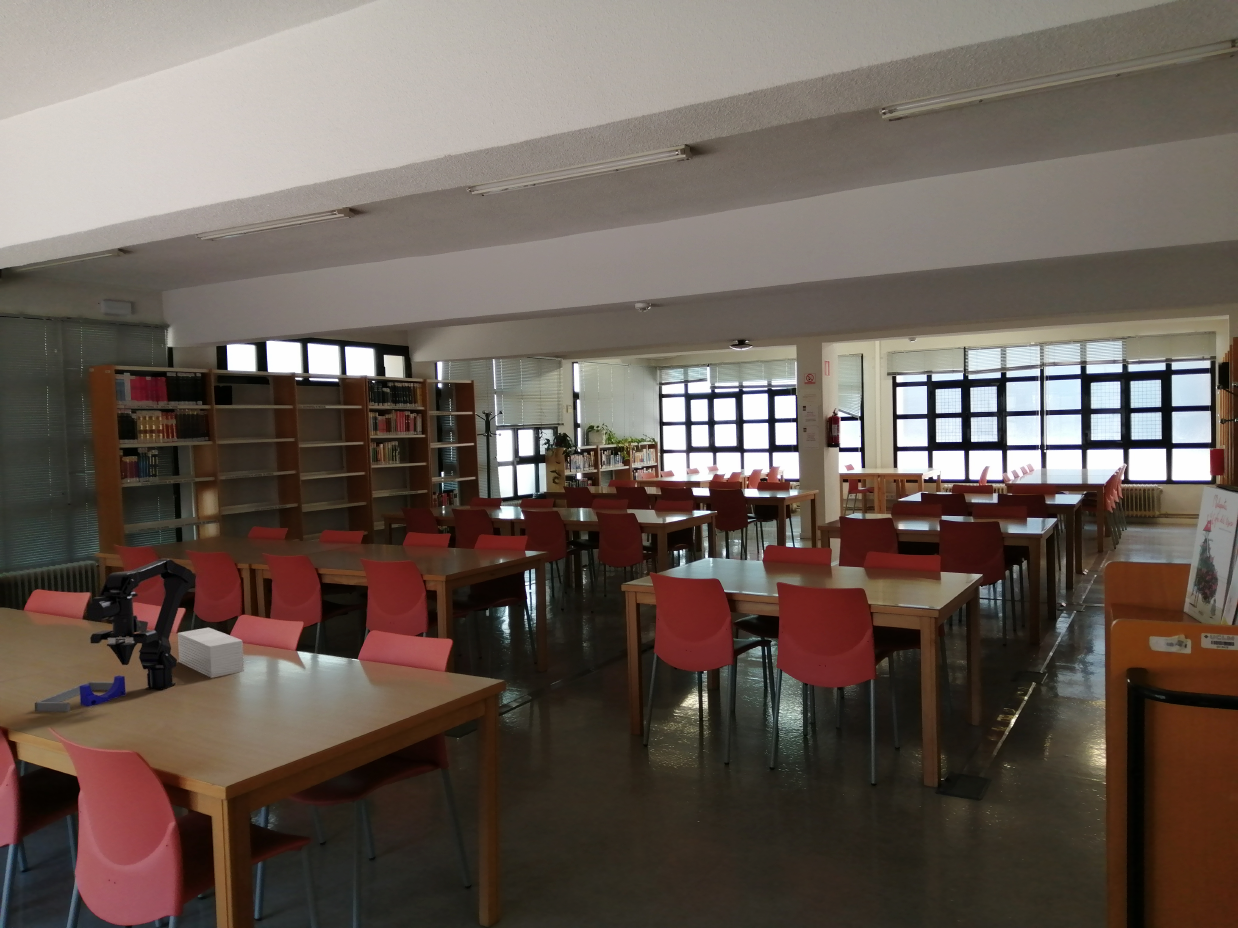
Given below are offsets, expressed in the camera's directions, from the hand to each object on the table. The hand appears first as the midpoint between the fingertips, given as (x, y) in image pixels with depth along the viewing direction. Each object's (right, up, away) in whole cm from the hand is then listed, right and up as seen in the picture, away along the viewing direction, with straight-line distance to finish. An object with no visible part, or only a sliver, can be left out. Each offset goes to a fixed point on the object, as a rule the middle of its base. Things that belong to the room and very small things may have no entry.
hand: (125, 664), depth 267 cm
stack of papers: (+8, -10, +39) cm, 41 cm away
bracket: (-15, -12, +3) cm, 19 cm away
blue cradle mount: (-7, -12, +2) cm, 14 cm away
